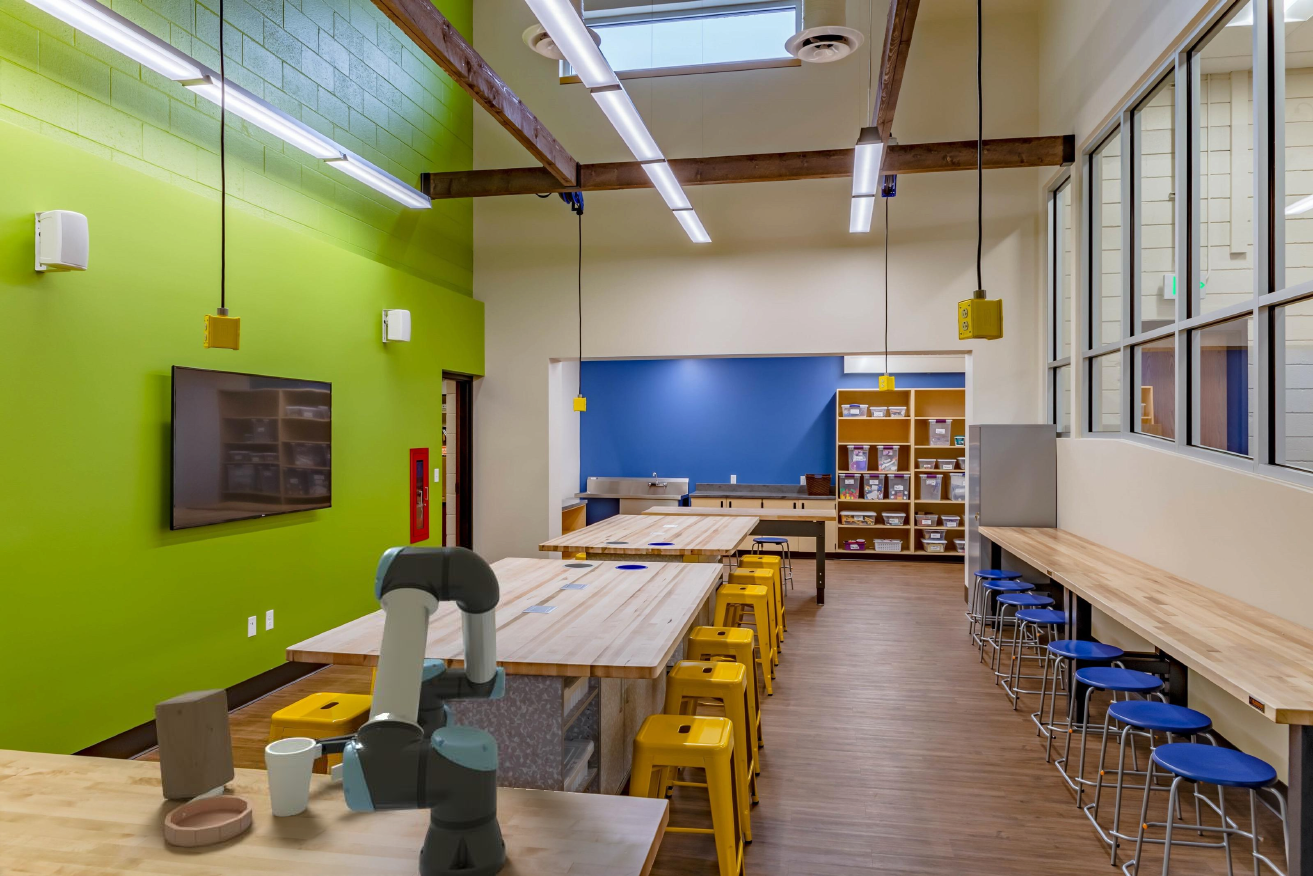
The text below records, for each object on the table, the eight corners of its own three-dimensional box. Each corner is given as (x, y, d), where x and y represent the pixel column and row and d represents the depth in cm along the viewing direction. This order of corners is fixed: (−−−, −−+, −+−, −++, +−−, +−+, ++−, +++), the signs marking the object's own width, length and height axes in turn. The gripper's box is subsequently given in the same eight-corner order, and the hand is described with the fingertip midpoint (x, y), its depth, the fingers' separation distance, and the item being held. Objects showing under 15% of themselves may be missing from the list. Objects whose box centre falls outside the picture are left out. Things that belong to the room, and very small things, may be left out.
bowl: (267, 824, 156) (267, 807, 156) (189, 855, 144) (190, 837, 144) (226, 805, 164) (226, 789, 164) (149, 833, 152) (150, 816, 152)
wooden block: (203, 798, 163) (193, 700, 164) (161, 801, 165) (151, 704, 166) (237, 779, 173) (227, 687, 174) (197, 782, 175) (188, 691, 176)
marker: (227, 793, 172) (180, 824, 156) (219, 789, 172) (170, 819, 156) (232, 781, 172) (185, 811, 156) (224, 777, 172) (176, 807, 156)
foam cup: (253, 813, 160) (255, 748, 161) (293, 796, 169) (294, 734, 169) (284, 824, 156) (286, 757, 156) (324, 805, 164) (325, 742, 164)
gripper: (430, 765, 178) (348, 799, 160) (360, 742, 192) (277, 770, 174) (431, 732, 178) (349, 762, 160) (361, 711, 192) (278, 736, 174)
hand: (312, 766), depth 167 cm, fingers open, 13 cm apart
